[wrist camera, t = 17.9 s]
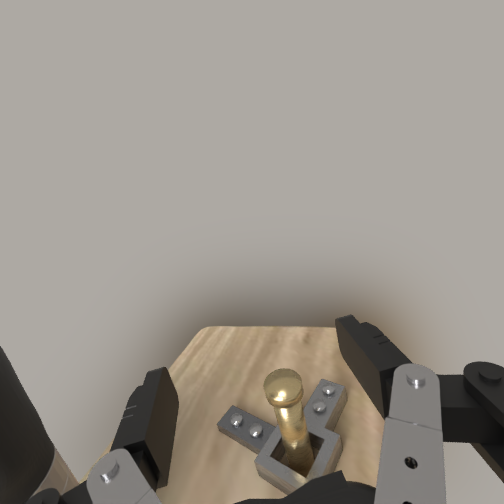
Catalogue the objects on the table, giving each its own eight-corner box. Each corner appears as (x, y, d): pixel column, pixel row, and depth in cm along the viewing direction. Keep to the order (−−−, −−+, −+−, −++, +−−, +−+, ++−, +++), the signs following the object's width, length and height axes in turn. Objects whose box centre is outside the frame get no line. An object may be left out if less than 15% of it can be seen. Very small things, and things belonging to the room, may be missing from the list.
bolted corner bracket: (209, 442, 45) (203, 426, 44) (267, 371, 56) (263, 356, 55) (316, 514, 33) (311, 494, 32) (361, 405, 45) (358, 388, 44)
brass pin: (279, 470, 38) (256, 390, 34) (295, 441, 42) (276, 364, 37) (309, 489, 36) (289, 404, 31) (324, 456, 39) (308, 375, 34)
